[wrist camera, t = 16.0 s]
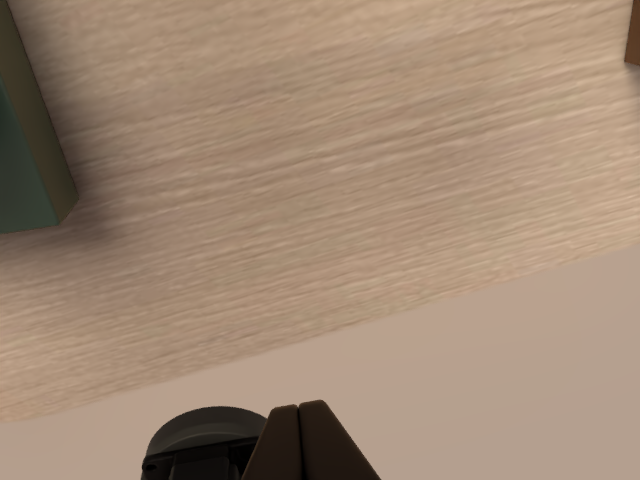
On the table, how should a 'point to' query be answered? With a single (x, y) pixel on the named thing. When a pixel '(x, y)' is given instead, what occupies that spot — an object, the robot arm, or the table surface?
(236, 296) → the table surface
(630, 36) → the panel
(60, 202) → the housing
